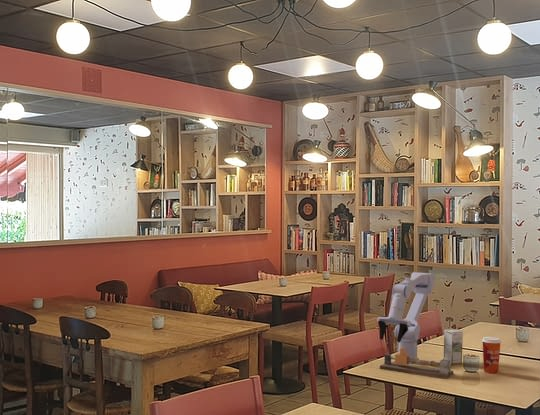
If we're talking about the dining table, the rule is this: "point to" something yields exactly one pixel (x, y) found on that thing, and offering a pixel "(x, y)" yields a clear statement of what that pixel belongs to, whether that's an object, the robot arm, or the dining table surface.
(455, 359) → the syrup box
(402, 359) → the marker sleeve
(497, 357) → the paper cup
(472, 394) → the dining table surface
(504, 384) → the dining table surface
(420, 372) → the grey slider rail
